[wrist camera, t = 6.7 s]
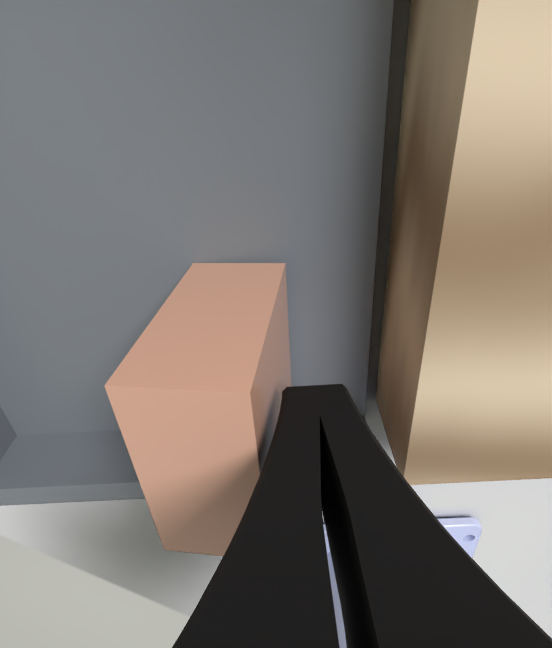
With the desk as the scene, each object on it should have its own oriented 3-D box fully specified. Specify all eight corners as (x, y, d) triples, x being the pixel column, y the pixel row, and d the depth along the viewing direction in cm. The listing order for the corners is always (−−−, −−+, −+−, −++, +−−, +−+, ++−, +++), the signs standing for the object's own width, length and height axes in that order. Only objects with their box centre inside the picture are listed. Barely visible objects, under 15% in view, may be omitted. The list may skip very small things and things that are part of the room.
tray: (360, 421, 15) (376, 487, 13) (13, 439, 15) (-34, 507, 13) (406, -295, 7) (480, -493, 4) (-370, -220, 7) (-701, -365, 5)
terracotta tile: (270, 561, 9) (164, 550, 10) (292, 404, 13) (217, 401, 14) (250, 392, 7) (104, 385, 7) (285, 262, 11) (193, 263, 11)
